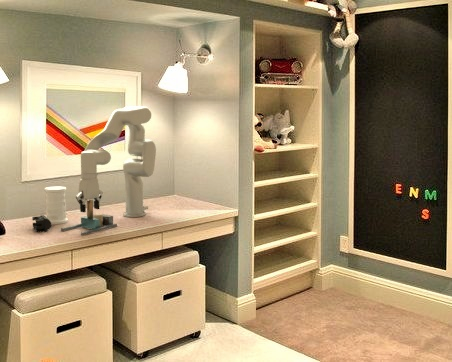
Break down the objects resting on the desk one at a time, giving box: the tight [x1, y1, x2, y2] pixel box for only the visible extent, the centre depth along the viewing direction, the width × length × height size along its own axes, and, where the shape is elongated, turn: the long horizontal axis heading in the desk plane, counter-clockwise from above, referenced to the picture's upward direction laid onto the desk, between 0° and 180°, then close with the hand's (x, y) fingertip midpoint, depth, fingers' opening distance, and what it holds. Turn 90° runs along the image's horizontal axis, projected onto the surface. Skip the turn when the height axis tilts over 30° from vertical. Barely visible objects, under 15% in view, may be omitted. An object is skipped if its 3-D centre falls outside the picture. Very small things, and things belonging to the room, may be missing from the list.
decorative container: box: [44, 185, 69, 225], centre depth 295 cm, size 12×12×18 cm
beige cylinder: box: [93, 213, 104, 227], centre depth 286 cm, size 5×5×6 cm
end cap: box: [31, 214, 52, 233], centre depth 278 cm, size 10×7×7 cm
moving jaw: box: [80, 199, 100, 230], centre depth 282 cm, size 3×10×14 cm, turn 57°
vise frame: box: [60, 213, 118, 236], centre depth 282 cm, size 23×16×5 cm
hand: (89, 210), depth 281 cm, fingers open, 8 cm apart
